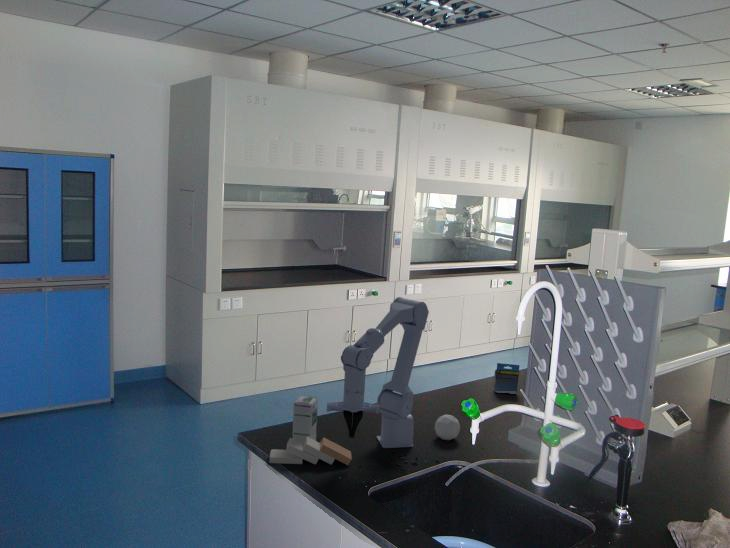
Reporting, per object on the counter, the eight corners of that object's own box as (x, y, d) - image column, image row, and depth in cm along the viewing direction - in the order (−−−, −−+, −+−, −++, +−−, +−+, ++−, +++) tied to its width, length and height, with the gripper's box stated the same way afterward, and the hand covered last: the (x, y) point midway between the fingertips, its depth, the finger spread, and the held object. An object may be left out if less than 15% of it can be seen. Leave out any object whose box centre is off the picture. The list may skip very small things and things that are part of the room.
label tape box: (515, 392, 233) (518, 362, 231) (517, 395, 229) (520, 365, 227) (492, 390, 233) (495, 360, 232) (494, 393, 229) (496, 363, 228)
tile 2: (334, 450, 166) (307, 436, 165) (335, 458, 161) (306, 443, 160) (331, 456, 166) (303, 442, 165) (331, 464, 162) (302, 450, 160)
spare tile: (351, 451, 167) (323, 437, 166) (351, 459, 162) (323, 444, 161) (347, 457, 167) (319, 443, 166) (348, 465, 162) (319, 450, 161)
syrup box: (310, 452, 169) (313, 404, 167) (291, 449, 170) (293, 401, 168) (316, 444, 174) (318, 397, 172) (297, 441, 175) (299, 394, 173)
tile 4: (303, 450, 166) (271, 449, 165) (302, 458, 161) (269, 457, 160) (303, 457, 166) (271, 456, 166) (302, 465, 161) (269, 464, 161)
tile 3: (319, 450, 166) (290, 437, 165) (318, 458, 161) (289, 445, 160) (315, 456, 166) (287, 443, 165) (315, 464, 161) (286, 451, 160)
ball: (446, 444, 186) (455, 420, 189) (458, 445, 179) (468, 421, 182) (426, 433, 185) (436, 409, 188) (438, 434, 177) (448, 409, 180)
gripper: (327, 393, 157) (325, 441, 159) (381, 395, 158) (378, 443, 160) (327, 384, 164) (325, 430, 166) (379, 386, 165) (376, 432, 167)
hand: (351, 436), depth 163 cm, fingers closed
